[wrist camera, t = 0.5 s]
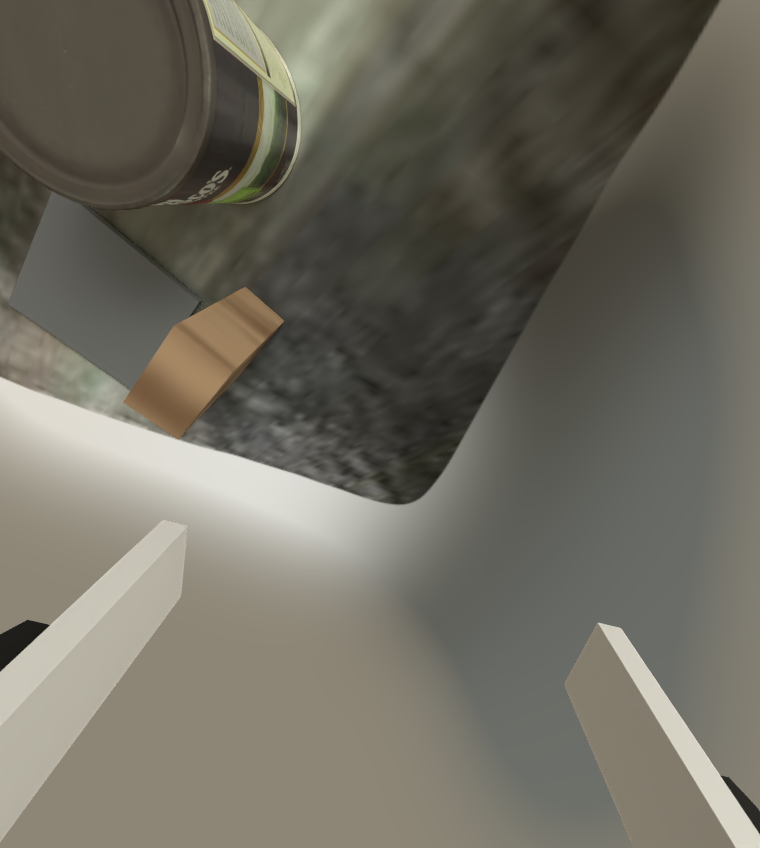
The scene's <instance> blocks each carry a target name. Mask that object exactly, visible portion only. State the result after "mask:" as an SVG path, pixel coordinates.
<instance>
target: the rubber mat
mask: <svg viewBox="0 0 760 848" xmlns="http://www.w3.org/2000/svg"><path fill="white" fill-rule="evenodd" d="M201 302H202V300H201V299H200V298H199V297H198V296H196V295H195V294H194V293H193V292H191V291H190V290H189V289H188V288H187V287H185V286H184V285H183V284H182V283H181V282H179V281H178V280H177V279H176V278H175V277H173V276H172V275H171V274H170V273H169V272H167V271H166V270H165V269H164V268H162V267H161V266H160V265H159V264H158V263H156V262H155V261H154V260H153V259H152V258H150V257H149V256H148V255H147V254H146V253H144V252H143V251H142V250H141V249H140V248H138V247H137V246H136V245H135V244H133V243H132V242H131V241H130V240H129V239H127V238H126V237H125V236H124V235H123V234H121V233H120V232H119V231H118V230H117V229H115V228H114V227H113V226H112V225H110V224H109V223H108V222H107V221H106V220H104V219H103V218H102V217H101V216H100V215H98V214H97V213H96V212H95V211H94V210H92V209H91V208H90V207H89V206H86V205H82V204H79V203H76V202H73V201H71V200H69V199H67V198H64V197H62V196H60V195H58V194H56V193H54V192H53V191H52V193H51V195H50V198H49V200H48V203H47V205H46V208H45V211H44V213H43V216H42V218H41V221H40V223H39V226H38V228H37V231H36V233H35V236H34V238H33V241H32V244H31V246H30V249H29V251H28V254H27V256H26V259H25V261H24V264H23V266H22V269H21V271H20V274H19V276H18V279H17V282H16V284H15V287H14V289H13V292H12V294H11V297H10V299H9V302H8V305H10V306H11V307H13V308H14V309H16V310H17V311H18V312H20V313H21V314H23V315H24V316H26V317H27V318H28V319H30V320H31V321H33V322H34V323H36V324H37V325H38V326H40V327H41V328H43V329H44V330H46V331H47V332H49V333H50V334H51V335H53V336H54V337H56V338H57V339H59V340H60V341H61V342H63V343H64V344H66V345H67V346H69V347H70V348H72V349H73V350H74V351H76V352H77V353H79V354H80V355H82V356H83V357H84V358H86V359H87V360H89V361H90V362H92V363H93V364H94V365H96V366H97V367H99V368H100V369H102V370H103V371H105V372H106V373H107V374H109V375H110V376H112V377H113V378H115V379H116V380H117V381H119V382H120V383H122V384H123V385H125V386H126V387H128V388H129V389H130V390H132V388H133V387H134V385H135V384H136V382H137V381H138V379H139V378H140V376H141V374H142V373H143V371H144V370H145V368H146V367H147V365H148V364H149V362H150V361H151V359H152V358H153V356H154V355H155V353H156V352H157V350H158V349H159V347H160V346H161V344H162V343H163V341H164V340H165V338H166V337H167V335H168V334H169V332H170V331H171V329H172V328H173V326H174V325H176V324H178V323H180V322H182V321H183V320H185V319H187V318H189V317H191V316H192V315H193V314H194V312H195V311H196V309H197V308H198V306H199V305H200V303H201Z"/></svg>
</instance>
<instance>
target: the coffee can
mask: <svg viewBox="0 0 760 848" xmlns="http://www.w3.org/2000/svg"><path fill="white" fill-rule="evenodd" d="M300 137H301V114H300V105H299V99H298V95H297V92H296V88H295V85H294V82H293V79H292V77H291V74H290V72H289V70H288V68H287V66H286V63H285V62H284V60H283V58H282V57H281V55H280V53H279V52H278V50H277V49H276V47H275V46H274V45H273V43H272V42H271V41H270V40H269V38H268V37H267V36H266V35H265V34H264V33H263V32H262V31H261V30H260V29H259V28H258V27H256V26H255V25H254V24H253V23H252V21H251V20H250V19H249V18H248V17H247V16H246V15H245V13H244V12H243V11H242V10H241V9H240V8H239V7H238V6H237V4H236V3H235V2H234V1H233V0H0V152H1V153H2V154H3V155H4V156H5V157H6V158H7V159H9V160H10V161H11V162H12V163H13V164H15V165H16V166H17V167H18V168H19V169H20V170H21V171H23V172H24V173H25V174H27V175H28V176H29V177H31V178H32V179H34V180H35V181H37V182H38V183H40V184H41V185H43V186H44V187H46V188H48V189H49V190H51V191H53V192H54V193H56V194H58V195H60V196H62V197H64V198H67V199H69V200H71V201H73V202H76V203H79V204H82V205H86V206H90V207H94V208H99V209H109V210H128V209H138V208H143V207H146V206H152V205H175V204H177V205H184V204H185V205H187V204H211V203H232V204H248V203H253V202H257V201H259V200H262V199H264V198H266V197H267V196H269V195H270V194H272V193H273V192H274V191H275V190H277V189H278V188H279V187H280V186H281V184H282V183H283V182H284V181H285V179H286V178H287V177H288V175H289V174H290V172H291V170H292V167H293V165H294V163H295V160H296V157H297V154H298V149H299V144H300Z"/></svg>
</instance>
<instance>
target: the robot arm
mask: <svg viewBox="0 0 760 848" xmlns="http://www.w3.org/2000/svg"><path fill="white" fill-rule="evenodd" d="M187 529H188V526H186V525H182V524H178V523H174V522H169V521H166V520H162V521H161V522H160V523H159V524H158V525H157V526H156V527H155V528H154V529H153V530H152V531H151V532H150V533H148V534H147V535H146V536H145V537H144V538H143V539H142V540H141V541H140V542H139V543H138V544H137V545H136V546H135V547H134V548H133V549H131V550H130V551H129V552H128V553H127V554H126V555H125V556H124V557H123V558H122V559H121V560H120V561H118V562H117V563H116V564H115V565H114V566H113V567H112V568H111V569H110V570H109V571H108V572H107V573H106V574H105V575H103V576H102V577H101V578H100V579H99V580H98V581H97V582H96V583H95V584H94V585H93V586H92V587H91V588H90V589H88V591H86V592H85V593H84V594H83V595H82V596H81V597H80V598H79V599H78V600H77V601H76V602H75V603H74V604H73V605H72V606H70V607H69V608H68V609H67V610H66V611H65V612H64V613H63V614H62V615H61V616H60V617H59V618H57V619H56V620H55V621H54V622H53V623H52V624H51V625H47V624H43V623H39V622H34V621H30V620H27V621H25V622H23V623H21V624H19V625H17V626H15V627H13V628H12V629H10V630H8V631H6V632H4V633H2V634H0V842H1V840H2V839H3V837H4V836H5V835H6V833H7V832H8V831H9V829H10V828H11V826H12V825H13V824H14V823H15V821H16V820H17V818H18V817H19V816H20V814H21V813H22V812H23V810H24V809H25V808H26V806H27V805H28V803H29V802H30V801H31V799H32V798H33V797H34V795H35V794H36V793H37V791H38V790H39V789H40V787H41V786H42V784H43V783H44V782H45V780H46V779H47V778H48V776H49V775H50V773H51V772H52V771H53V770H54V768H55V767H56V765H57V764H58V763H59V761H60V760H61V759H62V757H63V756H64V755H65V753H66V752H67V750H68V749H69V748H70V746H71V745H72V744H73V742H74V741H75V740H76V738H77V737H78V735H79V734H80V733H81V731H82V730H83V729H84V727H85V726H86V725H87V723H88V722H89V721H90V719H91V718H92V716H93V715H94V714H95V712H96V711H97V710H98V708H99V707H100V706H101V704H102V703H103V702H104V700H105V699H106V697H107V696H108V695H109V693H110V692H111V691H112V689H113V688H114V686H115V685H116V684H117V683H118V681H119V680H120V678H121V677H122V676H123V674H124V673H125V672H126V670H127V669H128V667H129V666H130V665H131V663H132V662H133V661H134V659H135V658H136V657H137V655H138V654H139V653H140V651H141V650H142V649H143V647H144V646H145V644H146V643H147V642H148V640H149V639H150V638H151V636H152V635H153V634H154V632H155V631H156V629H157V628H158V627H159V625H160V624H161V623H162V621H163V620H164V619H165V617H166V616H167V614H168V613H169V612H170V610H171V609H172V608H173V606H174V605H175V604H176V602H177V601H178V600H179V598H180V597H181V592H182V581H183V571H184V559H185V549H186V539H187ZM564 686H565V688H566V691H567V693H568V695H569V698H570V700H571V702H572V705H573V707H574V709H575V712H576V714H577V716H578V719H579V721H580V723H581V726H582V728H583V731H584V733H585V735H586V738H587V740H588V742H589V745H590V747H591V749H592V752H593V754H594V756H595V759H596V761H597V763H598V766H599V768H600V770H601V773H602V774H603V777H604V780H605V782H606V784H607V786H608V789H609V791H610V794H611V796H612V798H613V801H614V803H615V805H616V808H617V810H618V813H619V815H620V817H621V819H622V822H623V824H624V827H625V829H626V831H627V833H628V836H629V838H630V841H631V843H632V845H633V847H634V848H760V811H759V810H758V808H757V807H756V806H755V805H754V804H753V803H752V802H751V800H750V799H749V798H748V797H747V796H746V795H745V794H744V793H743V792H742V791H741V790H740V789H739V788H738V787H737V786H736V785H735V783H734V782H733V781H732V780H731V779H730V778H729V777H725V776H720V775H719V773H718V772H717V770H716V769H715V767H714V766H713V764H712V763H711V761H710V760H709V758H708V757H707V755H706V754H705V752H704V751H703V749H702V748H701V746H700V745H699V744H698V742H697V741H696V739H695V737H694V736H693V735H692V733H691V732H690V730H689V729H688V727H687V726H686V724H685V723H684V721H683V720H682V718H681V717H680V715H679V714H678V712H677V711H676V709H675V708H674V706H673V705H672V703H671V702H670V700H669V699H668V697H667V696H666V695H665V693H664V691H663V690H662V689H661V687H660V686H659V684H658V683H657V681H656V680H655V678H654V677H653V675H652V674H651V672H650V671H649V669H648V668H647V666H646V665H645V663H644V662H643V660H642V659H641V657H640V656H639V654H638V653H637V651H636V650H635V648H634V647H633V645H632V644H631V642H630V641H629V639H628V638H627V636H626V635H625V634H624V632H623V631H622V629H621V628H618V627H614V626H609V625H605V624H601V623H597V625H596V627H595V629H594V631H593V633H592V634H591V636H590V638H589V640H588V641H587V643H586V645H585V647H584V649H583V651H582V652H581V654H580V656H579V658H578V660H577V662H576V664H575V665H574V667H573V669H572V671H571V672H570V674H569V676H568V678H567V680H566V682H565V683H564Z"/></svg>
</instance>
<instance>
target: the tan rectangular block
mask: <svg viewBox="0 0 760 848" xmlns="http://www.w3.org/2000/svg"><path fill="white" fill-rule="evenodd" d="M283 322H284V320H283V319H282V318H280V317H279V316H278V315H277V314H276V313H275V312H274V311H272V310H271V309H270V308H269V307H268V306H267V305H266V304H264V303H263V302H262V301H261V300H260V299H259V298H258V297H256V296H255V295H254V294H253V293H252V292H251V291H250V290H248V289H247V288H246V287H244V288H242V289H240V290H238V291H236V292H235V293H233V294H231V295H229V296H227V297H225V298H224V299H222V300H220V301H218V302H216V303H214V304H213V305H211V306H209V307H207V308H205V309H204V310H202V311H200V312H198V313H196V314H194V315H193V316H191V317H189V318H187V319H185V320H183V321H182V322H180V323H178V324H176V325H174V326H173V328H172V329H171V331H170V332H169V334H168V335H167V337H166V338H165V340H164V341H163V343H162V344H161V346H160V347H159V349H158V350H157V352H156V353H155V355H154V356H153V358H152V359H151V361H150V362H149V364H148V365H147V367H146V368H145V370H144V371H143V373H142V374H141V376H140V378H139V379H138V381H137V382H136V384H135V385H134V387H133V388H132V390H131V391H130V393H129V394H128V396H127V397H126V399H125V400H124V403H125V404H127V405H128V406H129V407H131V408H132V409H134V410H135V411H137V412H138V413H140V414H141V415H143V416H144V417H146V418H147V419H149V420H150V421H151V422H153V423H154V424H156V425H157V426H159V427H160V428H162V429H163V430H165V431H166V432H168V433H169V434H171V435H172V436H174V437H175V438H176V439H179V438H180V437H181V436H182V435H183V434H184V433H185V432H186V431H187V430H188V429H189V428H190V427H191V426H192V425H193V424H194V423H195V421H196V420H197V419H198V418H199V417H200V416H201V415H202V414H203V413H204V412H205V411H206V410H207V409H208V408H209V407H210V406H211V405H212V404H213V403H214V402H215V400H216V399H217V398H218V397H219V396H220V395H221V394H222V393H223V392H224V391H225V390H226V389H227V388H228V387H229V386H230V385H231V384H232V383H233V382H234V381H235V379H236V378H237V377H238V376H239V375H240V374H241V373H242V372H243V371H244V369H245V368H246V367H247V366H248V364H249V363H250V362H251V361H252V360H253V358H254V357H255V356H256V355H257V354H258V352H259V351H260V350H261V349H262V348H263V346H264V345H265V344H266V343H267V341H268V340H269V339H270V338H271V337H272V335H273V334H274V333H275V332H276V331H277V329H278V328H279V327H280V326H281V324H282V323H283Z"/></svg>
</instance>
